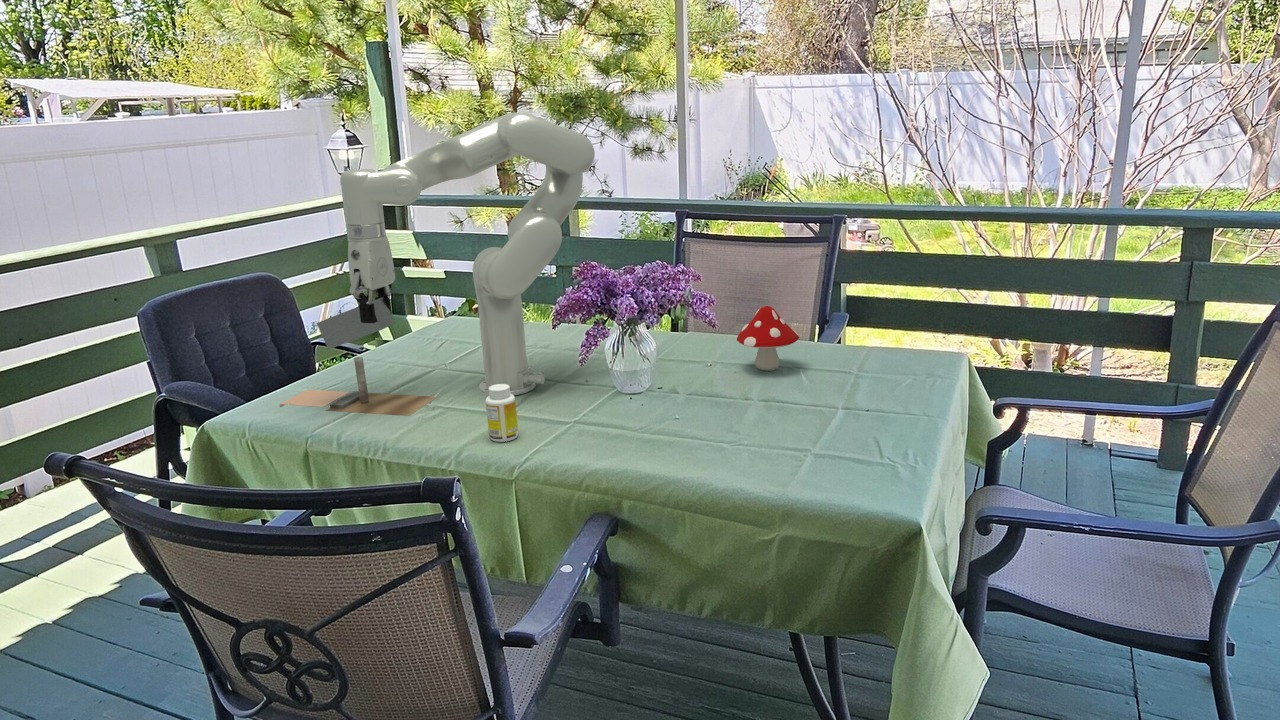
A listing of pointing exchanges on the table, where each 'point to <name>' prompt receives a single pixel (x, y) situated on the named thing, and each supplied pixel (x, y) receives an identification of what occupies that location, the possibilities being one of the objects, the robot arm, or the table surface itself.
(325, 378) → the table surface
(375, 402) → the post block
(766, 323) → the decorative mushroom
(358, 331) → the steel link
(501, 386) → the supplement bottle
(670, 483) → the table surface
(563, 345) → the table surface
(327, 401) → the terracotta tile
